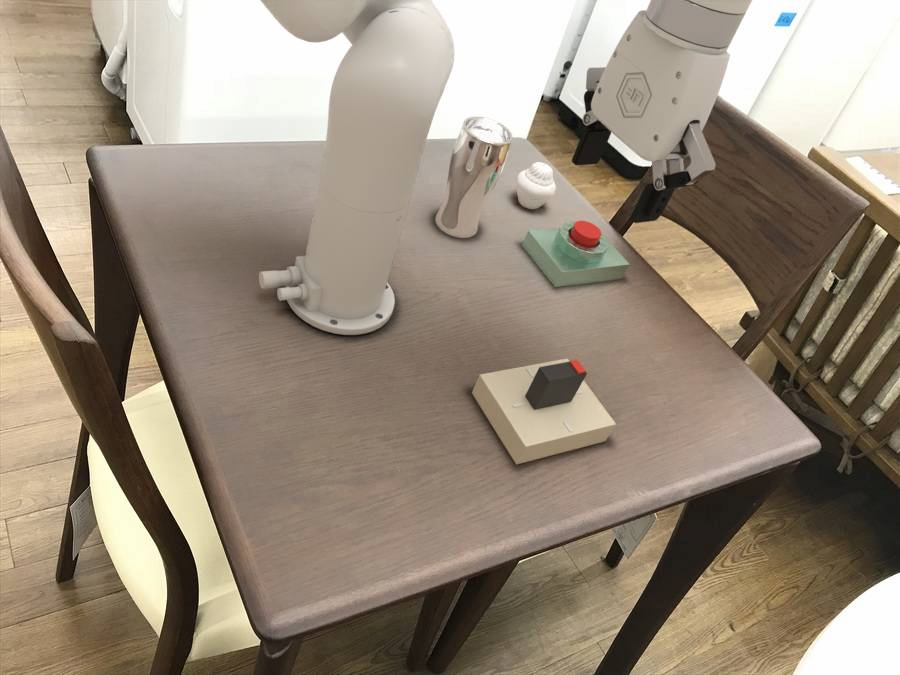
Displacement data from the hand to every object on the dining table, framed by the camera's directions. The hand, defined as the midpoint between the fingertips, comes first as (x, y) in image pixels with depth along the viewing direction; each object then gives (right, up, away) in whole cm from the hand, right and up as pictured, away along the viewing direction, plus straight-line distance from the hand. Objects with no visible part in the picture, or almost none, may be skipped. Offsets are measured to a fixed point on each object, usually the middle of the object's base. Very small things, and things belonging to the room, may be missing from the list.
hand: (612, 190), depth 75 cm
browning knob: (-5, -21, +7) cm, 23 cm away
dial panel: (-6, -23, +9) cm, 26 cm away
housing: (+1, -4, +33) cm, 34 cm away
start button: (+2, -1, +31) cm, 31 cm away
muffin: (-4, +6, +42) cm, 43 cm away
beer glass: (-15, +1, +32) cm, 36 cm away
